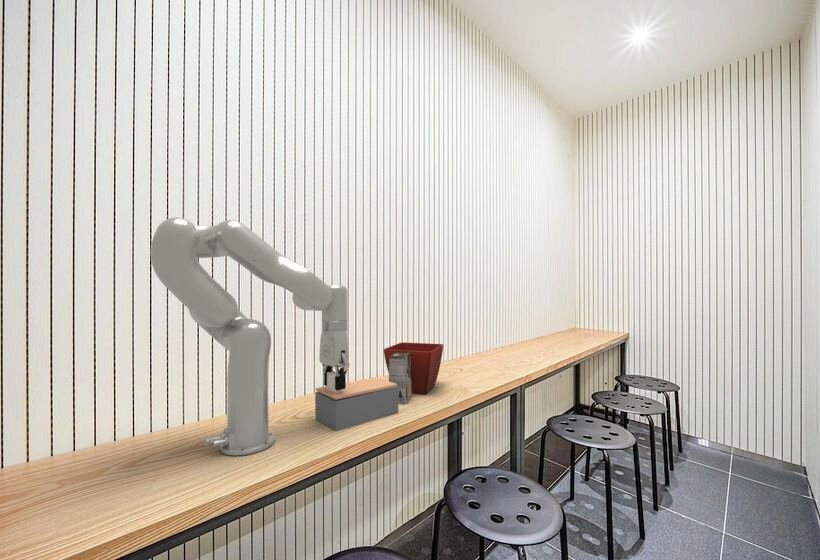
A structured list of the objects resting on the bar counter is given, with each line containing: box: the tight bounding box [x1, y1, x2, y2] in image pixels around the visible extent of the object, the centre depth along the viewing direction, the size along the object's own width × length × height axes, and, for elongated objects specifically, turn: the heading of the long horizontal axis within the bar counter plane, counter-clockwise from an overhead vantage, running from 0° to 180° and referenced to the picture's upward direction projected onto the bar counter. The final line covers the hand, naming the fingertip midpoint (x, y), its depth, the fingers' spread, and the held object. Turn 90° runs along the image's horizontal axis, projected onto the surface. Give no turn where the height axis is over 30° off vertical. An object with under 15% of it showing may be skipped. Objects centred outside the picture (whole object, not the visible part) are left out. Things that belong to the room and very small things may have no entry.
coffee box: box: [388, 353, 413, 405], centre depth 125 cm, size 9×6×16 cm
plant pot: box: [383, 341, 444, 395], centre depth 139 cm, size 19×19×17 cm
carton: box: [314, 387, 399, 432], centre depth 110 cm, size 22×13×8 cm, turn 130°
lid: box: [315, 370, 397, 400], centre depth 110 cm, size 22×12×6 cm, turn 130°
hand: (334, 386), depth 105 cm, fingers closed on lid, 6 cm apart
